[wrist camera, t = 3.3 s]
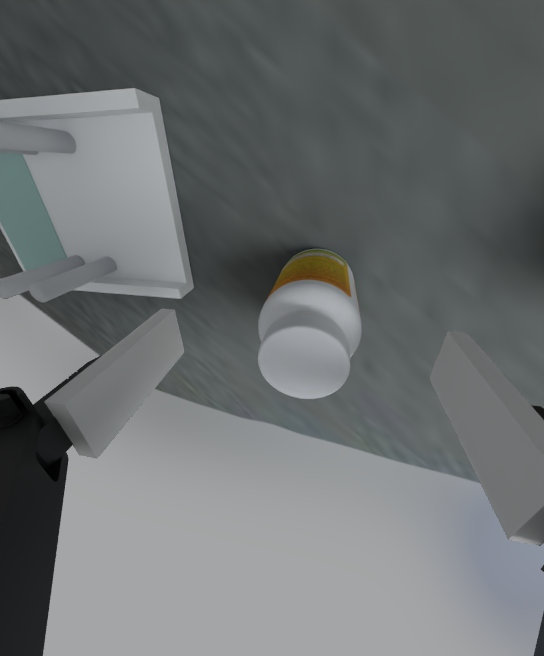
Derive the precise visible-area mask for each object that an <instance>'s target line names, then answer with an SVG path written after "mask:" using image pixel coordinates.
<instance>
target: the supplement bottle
mask: <svg viewBox="0 0 544 656" xmlns="http://www.w3.org/2000/svg"><path fill="white" fill-rule="evenodd" d="M258 330H259V336H260V340H261V342H262V343H261V346H260V348H259V352H258V365H259V368H260V371H261V373H262V375H263V376H264V378H265V379H266V380H267V382H268V383H269V384H270V385H272V386H273V387H274V388H275V389H277V390H278V391H280V392H282V393H284V394H287V395H289V396H292V397H296V398H302V399H315V398H321V397H325V396H328V395H330V394H332V393H334V392H335V391H337V390H338V389H339V388H340V387H341V386H342V385H343V384H344V383H345V381H346V379H347V378H348V375H349V371H350V358H351V357H352V355H353V354H354V353H355V351H356V349H357V347H358V345H359V342H360V339H361V333H362V327H361V316H360V311H359V305H358V300H357V294H356V288H355V282H354V277H353V274H352V271H351V269H350V267H349V265H348V264H347V263H346V261H345V260H344V259H343V258H341V257H340V256H339V255H337V254H336V253H334V252H332V251H329V250H325V249H309V250H305V251H302V252H300V253H298V254H296V255H295V256H293V257H292V258H291V259H290V260H289V261H288V262H287V263H286V265H285V266H284V268H283V269H282V271H281V273H280V275H279V277H278V279H277V281H276V283H275V285H274V287H273V289H272V290H271V292H270V294H269V296H268V298H267V300H266V302H265V303H264V305H263V308H262V310H261V313H260V317H259V323H258Z"/></svg>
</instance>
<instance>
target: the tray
mask: <svg viewBox="0 0 544 656" xmlns="http://www.w3.org/2000/svg"><path fill="white" fill-rule="evenodd" d="M0 229H1V230H2V232H3V234H4V236H5V238H6V240H7V242H8V244H9V245H10V247H11V249H12V251H13V253H14V255H15V257H16V259H17V260H18V262H19V264H20V266H21V268H22V270H23V272H21V273H18V274H15V275H11V276H8V277H5V278H2V279H0V297H1V298H3V299H8V298H10V297H13V296H16V295H18V294H21V293H23V292H26V291H28V290H29V291H30V293H31V295H32V296H33V297H34V298H35V299H36V300H38V301H39V302H47V301H49V300H51V299H53V298H56V297H58V296H60V295H62V294H65V293H67V292H69V291H71V290H77V291H90V292H103V293H115V294H128V295H140V296H153V297H166V298H178V299H181V298H182V297H184V296H185V295H186V294H187V293H188V292H190V291H191V290H192V289H193V288H194V285H193V279H192V274H191V268H190V263H189V258H188V252H187V247H186V241H185V236H184V231H183V225H182V220H181V214H180V209H179V204H178V198H177V193H176V187H175V182H174V176H173V171H172V166H171V160H170V155H169V149H168V144H167V139H166V133H165V128H164V122H163V117H162V112H161V106H160V101H159V98H157V97H155V96H153V95H150V94H148V93H145V92H143V91H141V90H138V89H136V88H129V89H118V90H107V91H96V92H85V93H73V94H62V95H51V96H40V97H29V98H18V99H6V100H0Z"/></svg>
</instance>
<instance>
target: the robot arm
mask: <svg viewBox="0 0 544 656" xmlns="http://www.w3.org/2000/svg"><path fill="white" fill-rule="evenodd" d="M183 353H184V348H183V344H182V339H181V335H180V331H179V326H178V322H177V318H176V314H175V310H172V309H160V310H159V311H158V312H157V313H155V314H154V315H153V316H152V317H150V318H149V319H148V320H146V321H145V322H144V323H143V324H141V325H140V326H139V327H138V328H136V329H135V330H134V331H133V332H131V333H130V334H129V335H128V336H126V337H125V338H124V339H123V340H121V341H120V342H119V343H117V344H116V345H115V346H114V347H112V348H111V349H110V350H109V351H107V352H106V353H105V354H104V355H102V356H99V357H98V358H95V359H93V360H92V361H90V362H88V363H86V364H85V365H84V366H83V367H81V368H80V369H79V370H78V371H77V372H75V373H74V374H72V375H71V376H70V377H69V379H66V380H65V381H63V382H62V383H61V384H59V385H58V386H57V387H56V388H54V389H53V390H52V391H50V392H49V393H48V394H46V396H44V397H43V398H41V399H40V400H39V401H38V402H36V403H35V404H34V405H33V404H32V403H31V402H30V400H29V399H28V397H27V396H26V394H25V393H24V391H23V390H22V389H21V388H19V387H6V388H1V389H0V656H43V649H44V642H45V634H46V626H47V619H48V611H49V603H50V595H51V588H52V581H53V573H54V565H55V558H56V550H57V543H58V535H59V527H60V519H61V511H62V505H63V497H64V490H65V482H66V474H67V466H68V455H67V453H66V451H67V450H68V449H69V448H70V447H71V446H72V445H73V446H74V448H75V449H76V451H77V452H78V454H79V455H82V456H87V457H92V458H98V457H99V456H100V455H101V453H102V452H103V451H104V450H105V449H106V447H107V446H108V445H109V444H110V442H111V441H112V440H113V439H114V438H115V436H116V435H117V434H118V433H119V431H120V430H121V429H122V428H123V426H124V425H125V424H126V423H127V422H128V420H129V419H130V418H131V417H132V416H133V414H134V413H135V412H136V411H137V409H138V408H139V407H140V406H141V405H142V403H143V402H144V401H145V400H146V398H147V397H148V396H149V395H150V394H151V392H152V391H153V390H154V389H155V387H156V386H157V385H158V384H159V383H160V381H161V380H162V379H163V378H164V376H165V375H166V374H167V373H168V372H169V370H170V369H171V368H172V367H173V365H174V364H175V363H176V362H177V361H178V359H179V358H180V357H181V356H182V354H183ZM429 380H430V382H431V384H432V386H433V388H434V390H435V392H436V394H437V396H438V398H439V400H440V402H441V404H442V406H443V408H444V410H445V412H446V414H447V416H448V418H449V420H450V422H451V424H452V426H453V428H454V430H455V432H456V434H457V437H458V439H459V441H460V443H461V445H462V447H463V449H464V451H465V453H466V455H467V457H468V459H469V461H470V463H471V465H472V467H473V469H474V471H475V473H476V475H477V477H478V479H479V481H480V483H481V485H482V487H483V489H484V491H485V493H486V495H487V497H488V499H489V501H490V503H491V505H492V507H493V509H494V512H495V514H496V516H497V518H498V519H499V522H500V524H501V526H502V528H503V530H504V532H505V534H506V536H507V538H508V540H513V541H518V542H523V543H529V544H533V545H539V546H541V545H542V544H543V543H544V409H543V408H542V407H540V406H532V405H530V404H529V403H528V402H527V400H526V399H525V398H524V397H523V396H522V395H521V394H520V392H519V391H518V390H517V389H516V388H515V387H514V386H513V384H512V383H511V382H510V381H509V380H508V379H507V378H506V376H505V375H504V374H503V373H502V372H501V371H500V370H499V369H498V367H497V366H496V365H495V364H494V363H493V362H492V361H491V359H490V358H489V357H488V356H487V355H486V354H485V353H484V351H483V350H482V349H481V348H480V347H479V346H478V345H477V343H476V342H475V341H474V340H473V339H472V338H471V337H470V336H469V334H468V333H463V332H451V331H448V332H447V335H446V337H445V340H444V342H443V345H442V347H441V350H440V352H439V355H438V357H437V360H436V362H435V365H434V367H433V370H432V372H431V375H430V378H429ZM541 570H542V571H543V572H544V565H543V567H542V568H541ZM534 656H544V613H543V617H542V622H541V627H540V631H539V635H538V639H537V644H536V648H535V653H534Z"/></svg>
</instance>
